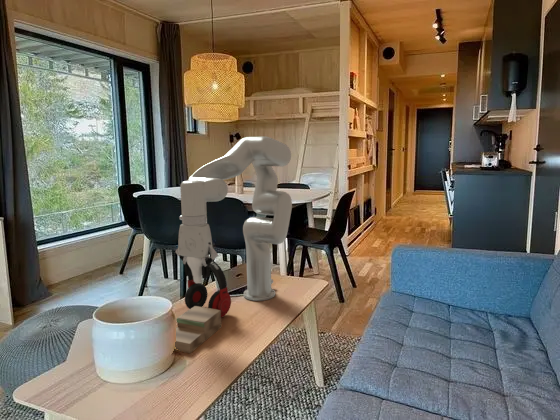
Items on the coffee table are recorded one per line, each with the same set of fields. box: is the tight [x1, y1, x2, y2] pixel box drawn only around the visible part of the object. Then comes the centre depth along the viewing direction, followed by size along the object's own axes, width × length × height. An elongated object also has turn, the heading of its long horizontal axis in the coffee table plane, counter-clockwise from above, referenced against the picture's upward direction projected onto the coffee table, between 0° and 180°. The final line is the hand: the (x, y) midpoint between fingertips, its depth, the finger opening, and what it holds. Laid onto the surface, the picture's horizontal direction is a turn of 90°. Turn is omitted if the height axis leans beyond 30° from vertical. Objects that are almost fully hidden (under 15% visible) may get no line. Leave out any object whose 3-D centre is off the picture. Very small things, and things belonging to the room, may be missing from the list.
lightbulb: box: [186, 257, 206, 283], centre depth 129 cm, size 6×6×11 cm
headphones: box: [184, 260, 232, 319], centre depth 144 cm, size 18×10×20 cm, turn 53°
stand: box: [175, 306, 222, 354], centre depth 128 cm, size 18×10×6 cm, turn 158°
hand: (197, 275), depth 129 cm, fingers closed on lightbulb, 5 cm apart
